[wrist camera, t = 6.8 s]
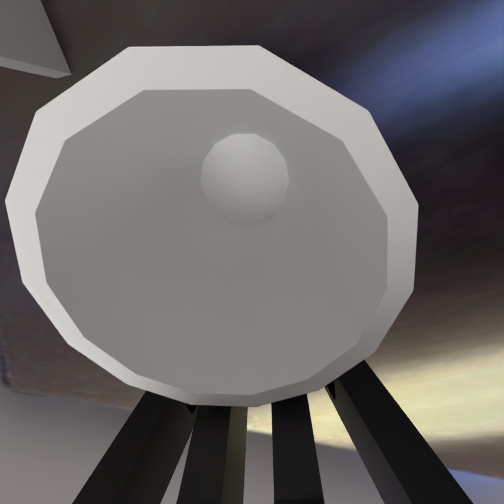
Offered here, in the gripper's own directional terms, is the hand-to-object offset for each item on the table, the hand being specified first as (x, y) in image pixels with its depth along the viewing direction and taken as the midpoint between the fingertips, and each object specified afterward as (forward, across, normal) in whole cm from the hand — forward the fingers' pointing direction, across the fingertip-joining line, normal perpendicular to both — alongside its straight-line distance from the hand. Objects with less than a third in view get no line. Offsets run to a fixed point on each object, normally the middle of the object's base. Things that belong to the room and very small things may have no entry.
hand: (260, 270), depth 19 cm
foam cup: (+2, 0, -6) cm, 7 cm away
